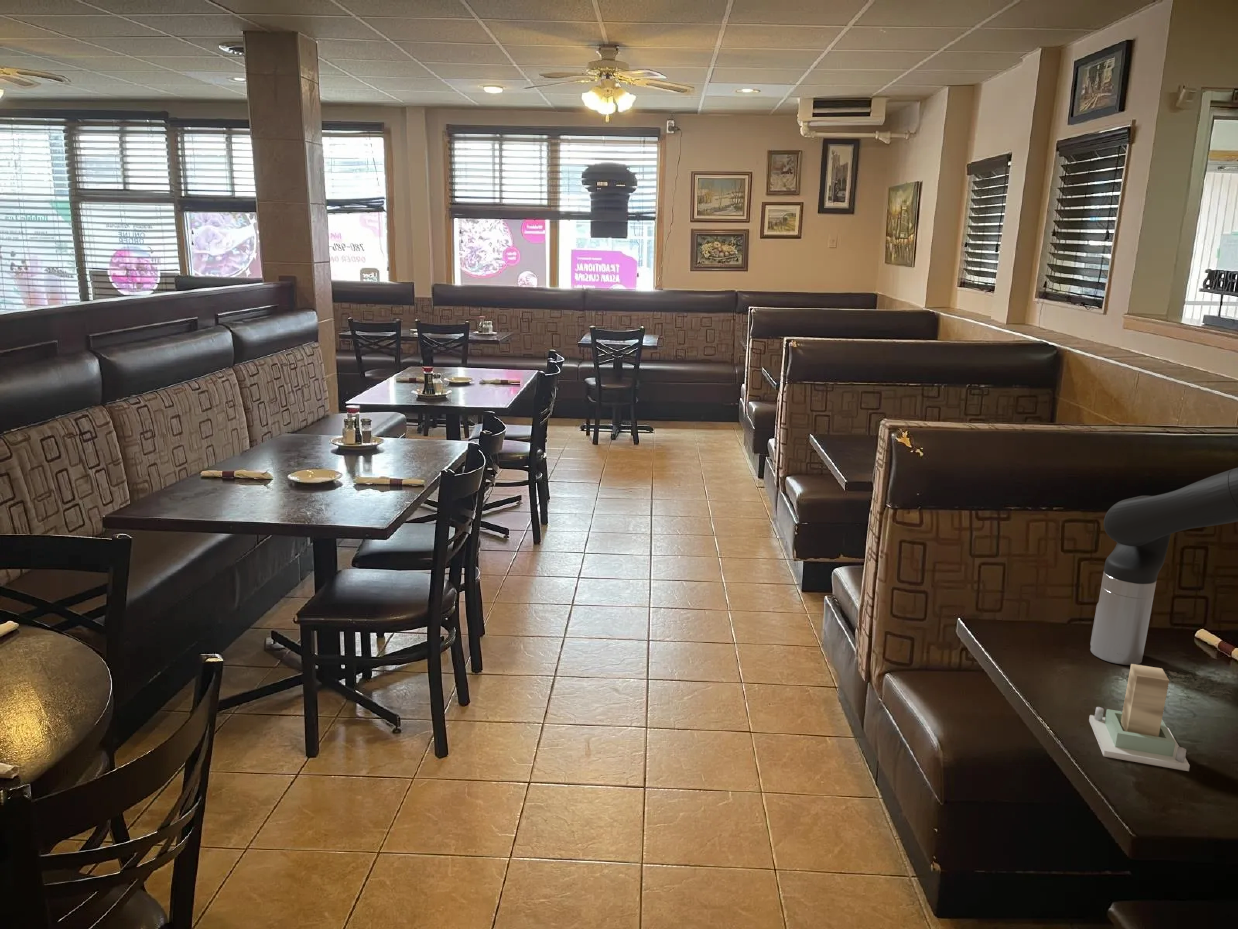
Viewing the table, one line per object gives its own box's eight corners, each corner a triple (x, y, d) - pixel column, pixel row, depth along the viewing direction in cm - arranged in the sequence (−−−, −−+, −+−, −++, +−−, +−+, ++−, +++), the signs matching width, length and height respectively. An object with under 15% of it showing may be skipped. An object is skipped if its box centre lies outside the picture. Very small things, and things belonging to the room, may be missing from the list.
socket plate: (1088, 720, 152) (1092, 701, 151) (1167, 733, 149) (1171, 714, 148) (1103, 756, 141) (1107, 736, 140) (1188, 771, 137) (1192, 751, 137)
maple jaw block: (1119, 729, 147) (1131, 663, 145) (1149, 734, 146) (1162, 668, 143) (1125, 743, 143) (1137, 675, 140) (1156, 748, 142) (1169, 680, 139)
